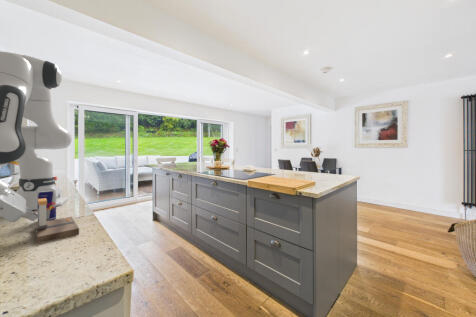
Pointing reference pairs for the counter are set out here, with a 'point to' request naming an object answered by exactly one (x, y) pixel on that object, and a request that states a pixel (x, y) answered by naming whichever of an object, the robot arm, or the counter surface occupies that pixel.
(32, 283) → the counter surface
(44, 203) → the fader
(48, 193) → the energy drink
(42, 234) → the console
